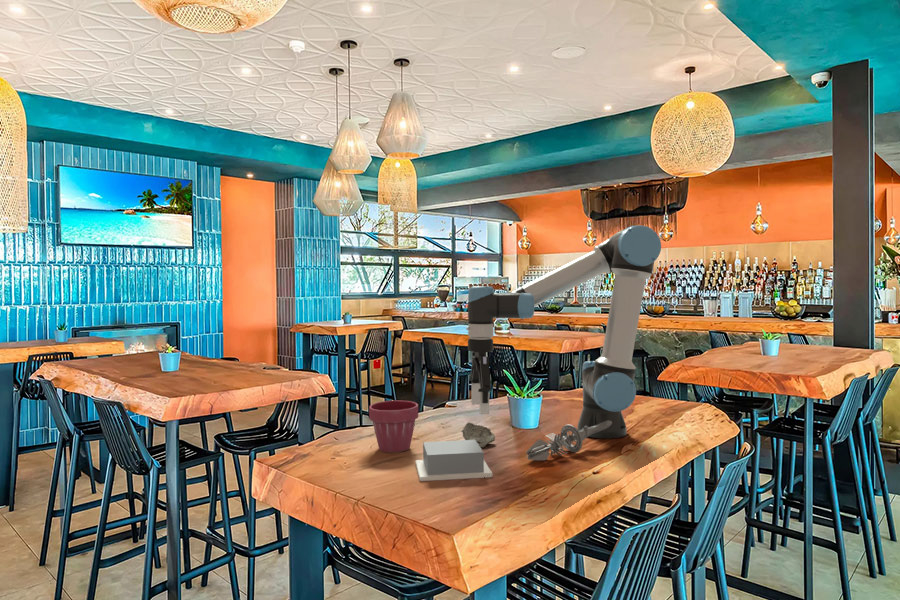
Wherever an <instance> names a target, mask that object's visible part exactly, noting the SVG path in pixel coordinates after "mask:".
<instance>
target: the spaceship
mask: <svg viewBox="0 0 900 600" xmlns="http://www.w3.org/2000/svg"><path fill="white" fill-rule="evenodd" d="M611 424H612V421H610V420H608V421H605V422H602V423H600V424H598V425H595V426H591V427H587V426H585V427H584V428H583V429H581V430H578V427H575V426H574V425H572V424H565V425H564V426H562V428H561V430H560V433H558V434H555V433H554V432H552V433H548V434H546V435H545V437H547V438H549V439H548V440H542V439H540V438H539V439H537V440H536V441H535V442H534V443H533V444H532V445H531V446H530V447H529V448H528V450H526V451H525V453H526V455H525V457H527V459H528V461H547V460H548V459H549V456H553V455H556V454H557V455H559V456H563V455H566V454H569V452H571V453H577V452H579V451H580V450H582V446H583V441H585V439H587V438H589V437H588V436H589V435H591V434H594V433H597V432H599V431H602V430H605V429H607V428H608V427H609V426H610V425H611ZM575 443H576V444H575ZM564 449H567V450H568V451H569V452H568V451H566V450H564ZM549 450H550V451H549Z"/></svg>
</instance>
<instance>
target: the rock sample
mask: <svg viewBox="0 0 900 600" xmlns="http://www.w3.org/2000/svg"><path fill="white" fill-rule="evenodd" d="M460 432H462V437H463V440H476V442H477V443H478V445H479V446H480V448H481V449H482V448H485V447H486V445H488V444H491V443H493V442H495V440H496V437H495V434H494V433H493V432H492V431H491V429H490V428H488V427H486V426H483V425H479V424H475V423H473V422H466V423H465V425H464V426H463V428H462V430H461V431H460Z"/></svg>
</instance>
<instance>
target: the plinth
mask: <svg viewBox="0 0 900 600" xmlns="http://www.w3.org/2000/svg"><path fill="white" fill-rule="evenodd" d="M422 448H423V449H422V455H423V456H422V459H415V467H416V471H417V475H418V479H419V481H420V482H428V481H447V480H464V479H481V478H484V477H485V478H493V476H494V475H493V472H492V470H491V469H490V466H488V464H487V462H486V461H485V459H484V457H485V456H484V454H485V453H484V451H483V450H482V448H480V446H479V445H478V443H477V442H476V440H465V439H462V440H460V439H459V440H443V441H440V440H439V441H438V440H437V441H424V442H422Z"/></svg>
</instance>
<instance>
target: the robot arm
mask: <svg viewBox="0 0 900 600" xmlns="http://www.w3.org/2000/svg"><path fill="white" fill-rule="evenodd" d="M661 250H662V241H661V238H660V236H659V235H658V233H657V232H656V231H655V230H654V229H653V228H651V227H649V226H646V225H636V224H635V225H631V226H627V227H626V228H625V229H621V230H619V231H618V232H616V233H615V234H613V235H612V236H611V237H609V238H608V239H606V240H604V241H602V242H601V243H599V244H596V245H595V246H594V247H593V250H592V251H590V252H589V253H586V254H584V255H583V256H580V257H578V258H576V259H574V260H572V261H570V262H568V263H566V264H564V265H562V266H560V267H558V268H556V269H554V270H552V271H550V272H548V273H545V274H544V275H542V276H540V277H537V278H536V279H534V280H532V281H529V282H527V283H525V284H523V285H521V286H519V287H517V288H515V289H513V290H512V291H508V292H504V293H503V292H495V290H494V287H493V286H488V285H487V286H485V285H483V286H482V285H481V286H477V285H475V286H474V285H472V286H471V287H470V288H469V289H468V299H467V323H468V324H467V325H468V326H466V328H465V329H466V331H467V336H468V337H469V338H468V339H467V350H468V352H471V354H472V355H471V366H470V367H471V368H470V377H469V379H470V380H471V381H470V383H471V394H470V396H471V397H470V398H471V401H470V402H471V404H470V405H473V406H474V405H475V406H476V405H479V415H490V393H491V391H492V382H491V372H490V370H491V369H490V356H487V353H490V352H493V351H494V339H493V337H494V319H521V320H524V319H532V318H533V317H534V316H535V307H536V306H538V305H540V304H542V303H544V302H547V301H548V300H551V299H552V298H555V297H556V296H558V295H561V294H563V293H565V292H567V291H569V290H570V289H573V288H575V287H578V286H579V285H581V284H584V283H585V282H587V281H589V280H592V279H594V278H596V277H598V276H600V275H602V274H608V275H609V274H611V273H613V274H614V281H613V286H612V288H613V289H612V291H611V292H612V293H611V298H610V299H611V300H610V304H609V305H610V306H609V312H608V316H607V323H606V329H605V335H604V341H603V347H602V352H601V355H600V356H599V357H598V358H597V359H595V360H591V361H589V360H587V361H584V362H583V364H582V369H581V372H582V410H581V413H580V415H579V416H580V417H579V420H578V422H577V429H578V430H581V429H583V428H584V427H585V426H587V427H591V426H595V425H598V424H600V423H602V422H605V421H608V420H610V421H612V424H611V425H610V426H609V427H608V428H607V429H605V430H602V431H599V432H597V433H594V434H591V435H589V436H588V437H587V438H594V439H604V440H605V439H611V440H612V439H619V438H623V437H625V436H627V424H626V422H625V419H624V415H623V413H622V412H623V411H625V410H626V409H628V408H629V407H630V406H631V405H633V403H634V401H635V399H636V396H637V395H636V394H637V389H636V384H635V376H636V370H637V369H636V368H637V366H636V365H635V364H634V363H633V354H634V350H635V342H636V337H637V331H638V326H639V319H640V314H641V310H642V309H641V307H642V302H643V297H644V290H645V285H646V281H647V279H649V278H650V277H652V276H653V272H654V271H653V270H654V264H655V261H657V259H658V258H659V257H660V254H661Z"/></svg>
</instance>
